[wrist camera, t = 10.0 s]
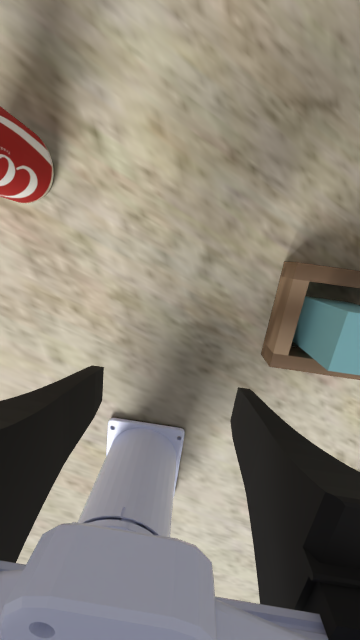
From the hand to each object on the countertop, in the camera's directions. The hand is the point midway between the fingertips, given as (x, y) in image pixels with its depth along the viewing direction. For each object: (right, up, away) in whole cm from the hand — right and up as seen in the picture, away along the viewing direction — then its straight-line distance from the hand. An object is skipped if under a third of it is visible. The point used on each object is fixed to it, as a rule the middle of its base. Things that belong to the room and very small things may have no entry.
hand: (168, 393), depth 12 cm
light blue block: (+13, +4, +8) cm, 16 cm away
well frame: (+13, +4, +8) cm, 16 cm away
